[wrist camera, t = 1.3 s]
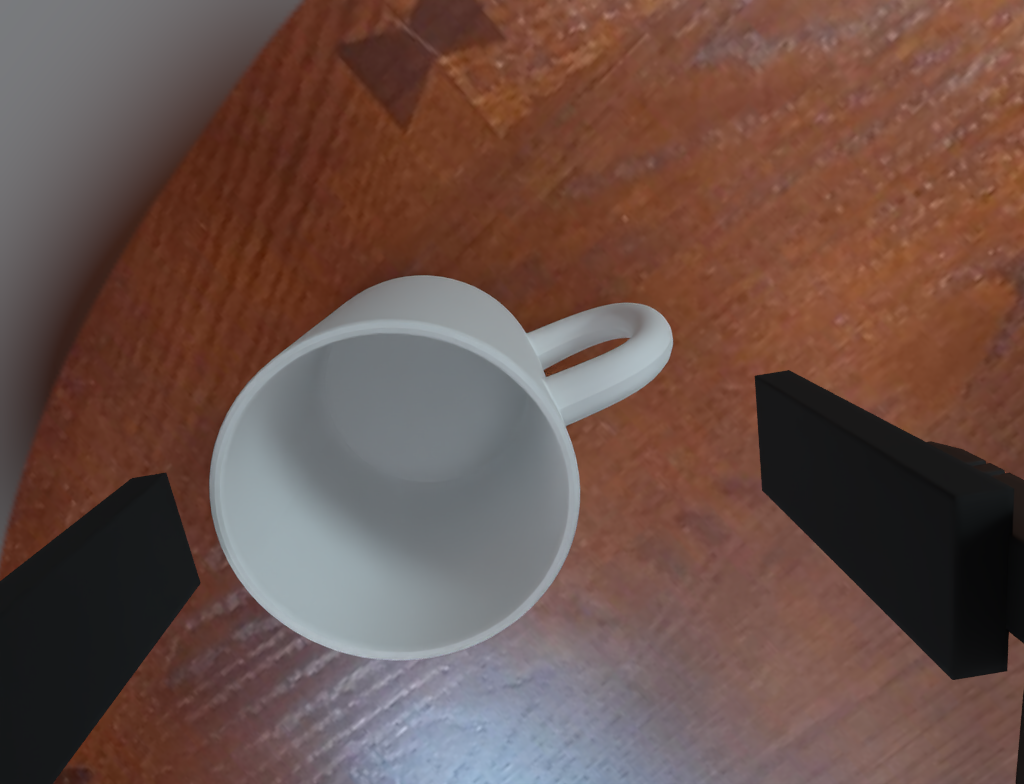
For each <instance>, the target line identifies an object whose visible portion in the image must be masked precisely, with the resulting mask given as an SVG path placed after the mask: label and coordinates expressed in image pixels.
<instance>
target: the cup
mask: <svg viewBox="0 0 1024 784" xmlns="http://www.w3.org/2000/svg"><path fill="white" fill-rule="evenodd" d="M618 338H630V339H629V340H628V341H626V342H625V343H624V344H622V345H620V346H619V347H617V348H615V349H613V350H611V351H609V352H607V353H605V354H602V355H600V356H598V357H595V358H593V359H591V360H588V361H586V362H583V363H581V364H578V365H576V366H573V367H571V368H568V369H566V370H563V371H561V372H558V373H556V374H553V375H550V376H548V377H546V376H545V373H544V369H546V368H548V367H550V366H552V365H554V364H555V363H557V362H559V361H561V360H563V359H565V358H567V357H569V356H571V355H573V354H575V353H577V352H580V351H582V350H584V349H586V348H589V347H591V346H594V345H596V344H599V343H602V342H605V341H609V340H613V339H618ZM672 346H673V337H672V331H671V328H670V325H669V324H668V322H667V321H666V319H665V318H664V317H663V315H662V314H660V313H659V312H658V311H656V310H654V309H653V308H651V307H649V306H646V305H642V304H636V303H616V304H610V305H605V306H600V307H597V308H593V309H590V310H587V311H583V312H580V313H578V314H575V315H572V316H569V317H567V318H564V319H561V320H559V321H556V322H554V323H551V324H549V325H546V326H544V327H541V328H539V329H537V330H534V331H532V332H529V333H526V332H525V331H524V329H523V328H522V326H521V325H520V323H519V322H518V321H517V320H516V318H515V317H514V316H513V315H512V314H511V313H510V312H509V311H508V310H507V309H506V308H505V307H504V306H503V305H502V304H501V303H499V302H498V301H497V300H496V299H494V298H493V297H491V296H490V295H488V294H487V293H485V292H483V291H482V290H480V289H478V288H476V287H474V286H471V285H469V284H467V283H464V282H461V281H458V280H454V279H450V278H445V277H439V276H429V275H417V276H407V277H401V278H396V279H392V280H388V281H385V282H382V283H379V284H377V285H375V286H372V287H370V288H368V289H366V290H364V291H362V292H361V293H359V294H357V295H356V296H354V297H353V298H351V299H350V300H348V301H347V302H346V303H344V304H343V305H342V306H340V307H339V308H338V309H337V310H335V311H334V312H333V313H331V314H330V315H329V316H328V317H326V318H325V319H324V320H322V321H321V322H320V323H319V324H317V325H316V326H315V327H313V328H312V329H311V330H310V331H308V332H307V333H306V334H304V335H303V336H302V337H301V338H299V339H298V340H297V341H295V342H294V343H293V344H292V345H290V346H289V347H288V348H286V349H285V350H284V351H283V352H281V353H280V354H279V355H277V356H276V357H275V358H274V359H272V360H271V361H270V362H269V363H268V364H267V365H265V366H264V367H263V368H262V369H261V370H260V371H259V372H258V373H257V374H256V375H255V376H254V377H253V378H252V379H251V380H250V381H249V382H248V383H247V384H246V386H245V387H244V388H243V390H242V391H241V392H240V394H239V395H238V396H237V398H236V399H235V401H234V403H233V404H232V406H231V408H230V409H229V411H228V413H227V415H226V417H225V419H224V421H223V423H222V426H221V428H220V430H219V433H218V436H217V439H216V442H215V445H214V450H213V455H212V460H211V467H210V477H209V496H210V505H211V513H212V517H213V522H214V526H215V530H216V533H217V536H218V539H219V542H220V545H221V547H222V549H223V552H224V554H225V556H226V558H227V560H228V562H229V564H230V566H231V567H232V569H233V571H234V572H235V574H236V576H237V577H238V579H239V580H240V581H241V583H242V584H243V585H244V587H245V588H246V590H247V591H248V592H249V593H250V594H251V595H252V596H253V597H254V599H255V600H256V601H257V602H258V603H259V604H260V605H261V606H262V607H263V608H264V609H265V610H267V611H268V612H269V613H270V614H271V615H272V616H274V617H275V618H276V619H277V620H279V621H280V622H281V623H283V624H284V625H285V626H287V627H289V628H290V629H292V630H293V631H295V632H296V633H298V634H300V635H302V636H304V637H306V638H307V639H309V640H311V641H313V642H316V643H318V644H320V645H323V646H325V647H328V648H330V649H333V650H337V651H340V652H343V653H346V654H351V655H355V656H359V657H365V658H372V659H380V660H416V659H425V658H432V657H437V656H442V655H447V654H450V653H453V652H457V651H460V650H463V649H466V648H468V647H471V646H474V645H476V644H478V643H480V642H483V641H485V640H487V639H489V638H491V637H492V636H494V635H496V634H497V633H499V632H501V631H502V630H504V629H506V628H507V627H508V626H510V625H511V624H512V623H514V622H515V621H516V620H518V619H519V618H520V617H521V616H522V615H524V614H525V613H526V612H527V611H528V610H529V609H530V608H531V607H532V606H533V605H534V604H535V603H536V602H537V601H538V600H539V599H540V598H541V597H542V595H543V594H544V593H545V592H546V590H547V589H548V588H549V586H550V585H551V584H552V582H553V581H554V579H555V577H556V576H557V574H558V573H559V571H560V569H561V567H562V565H563V563H564V561H565V559H566V557H567V555H568V553H569V550H570V547H571V544H572V541H573V539H574V535H575V531H576V527H577V522H578V515H579V508H580V482H579V472H578V466H577V460H576V456H575V452H574V449H573V446H572V442H571V439H570V437H569V434H568V432H567V429H566V426H567V425H569V424H572V423H574V422H576V421H579V420H581V419H583V418H585V417H588V416H590V415H592V414H594V413H596V412H599V411H601V410H603V409H605V408H607V407H609V406H611V405H613V404H615V403H617V402H619V401H621V400H623V399H625V398H627V397H628V396H630V395H632V394H633V393H635V392H637V391H638V390H640V389H641V388H643V387H644V386H646V385H647V384H648V383H649V382H651V381H652V380H653V379H654V378H655V377H656V376H657V375H658V374H659V372H660V371H661V370H662V369H663V367H664V366H665V365H666V364H667V362H668V360H669V358H670V354H671V351H672Z"/></svg>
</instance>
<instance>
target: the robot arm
mask: <svg viewBox="0 0 1024 784" xmlns="http://www.w3.org/2000/svg"><path fill="white" fill-rule="evenodd" d="M755 387H756V402H757V418H758V433H759V448H760V463H761V479H762V491H763V492H764V493H765V494H766V495H768V496H769V497H770V498H771V499H772V500H773V501H774V502H775V503H776V504H777V505H778V506H779V507H780V508H781V509H782V510H783V511H784V512H785V513H786V514H787V515H788V516H789V517H790V518H791V519H792V520H793V521H794V522H795V523H796V524H797V525H798V526H799V527H800V528H801V529H802V530H803V531H804V532H805V533H806V534H807V535H808V536H809V537H810V538H811V539H812V540H813V541H814V542H815V543H816V544H817V545H818V546H819V547H820V548H821V549H822V550H823V551H824V552H825V553H826V554H827V555H828V556H829V557H830V558H831V559H832V560H833V561H834V562H835V563H836V564H837V565H838V566H839V567H840V568H841V569H842V570H843V571H844V572H845V573H846V574H847V575H848V576H849V577H850V578H851V579H852V580H853V581H854V582H855V583H856V584H857V585H858V586H859V587H860V588H861V589H862V590H863V591H864V592H865V593H866V594H867V595H868V596H869V597H870V598H871V599H872V600H873V601H874V602H875V603H876V604H877V605H878V606H879V607H880V608H881V609H882V610H883V611H884V612H885V613H886V614H887V615H888V616H889V617H890V618H891V619H892V620H893V621H894V622H895V623H896V624H897V625H898V626H899V627H900V628H901V629H902V630H903V631H904V632H905V633H906V634H907V635H908V636H909V637H910V638H911V639H912V640H913V641H914V642H915V643H916V644H917V645H918V646H919V647H920V648H921V649H922V650H923V651H924V652H925V653H926V654H927V655H928V656H929V657H930V658H931V659H932V660H933V661H934V662H935V663H936V664H937V665H938V666H939V667H940V668H941V669H942V670H943V671H944V672H945V673H946V674H947V675H948V676H949V677H950V678H951V679H952V680H956V679H962V678H968V677H974V676H980V675H986V674H992V673H998V672H1004V671H1007V663H1008V637H1009V632H1010V633H1011V634H1013V635H1014V636H1015V637H1016V638H1018V639H1019V640H1020V641H1021V642H1023V643H1024V480H1023V479H1021V478H1019V477H1017V476H1015V475H1013V474H1011V473H1006V474H1005V471H1004V470H1003V469H1001V468H999V467H997V466H995V465H993V464H991V463H988V464H986V461H985V460H983V459H981V458H979V457H977V456H975V455H973V454H971V453H969V452H967V451H965V450H963V449H959V448H955V447H951V446H947V445H943V444H939V443H935V442H925V441H923V440H921V439H919V438H917V437H915V436H913V435H911V434H909V433H907V432H906V431H904V430H902V429H900V428H898V427H896V426H894V425H892V424H890V423H888V422H886V421H885V420H883V419H881V418H879V417H877V416H875V415H873V414H871V413H869V412H867V411H866V410H864V409H862V408H860V407H858V406H856V405H854V404H852V403H850V402H848V401H846V400H845V399H843V398H841V397H839V396H837V395H835V394H833V393H831V392H829V391H827V390H826V389H824V388H822V387H820V386H818V385H816V384H814V383H812V382H810V381H808V380H806V379H805V378H803V377H801V376H799V375H797V374H795V373H793V372H791V371H789V370H788V371H782V372H776V373H770V374H763V375H757V376H755ZM199 585H200V580H199V577H198V573H197V570H196V567H195V564H194V561H193V557H192V554H191V551H190V548H189V544H188V541H187V538H186V535H185V532H184V528H183V525H182V522H181V519H180V515H179V512H178V509H177V506H176V503H175V499H174V496H173V493H172V490H171V487H170V483H169V480H168V477H167V474H166V473H161V474H155V475H149V476H143V477H137V478H132V479H130V480H129V481H128V482H126V483H125V484H124V485H123V486H121V487H120V488H119V489H118V490H116V491H115V492H114V493H112V494H111V495H110V496H109V497H107V498H106V499H105V500H103V501H102V502H101V503H100V504H98V505H97V506H96V507H95V508H93V509H92V510H91V511H89V512H88V513H87V514H86V515H84V516H83V517H82V518H80V519H79V520H78V521H77V522H75V523H74V524H73V525H72V526H70V527H69V528H68V529H66V530H65V531H64V532H63V533H61V534H60V535H59V536H57V537H56V538H55V539H54V540H52V541H51V542H50V543H49V544H47V545H46V546H45V547H43V548H42V549H41V550H40V551H38V552H37V553H36V554H34V555H33V556H32V557H31V558H29V559H28V560H27V561H26V562H24V563H23V564H22V565H20V566H19V567H18V568H17V569H15V570H14V571H13V572H12V573H10V574H9V575H8V576H6V577H5V578H4V579H3V580H1V581H0V784H53V782H54V781H55V780H56V778H57V777H58V776H59V774H60V773H61V771H62V770H63V769H64V767H65V766H66V765H67V763H68V762H69V761H70V759H71V758H72V757H73V755H74V754H75V752H76V751H77V750H78V748H79V747H80V746H81V744H82V743H83V742H84V740H85V739H86V738H87V736H88V735H89V734H90V732H91V731H92V729H93V728H94V727H95V725H96V724H97V723H98V721H99V720H100V719H101V717H102V716H103V715H104V713H105V712H106V711H107V709H108V708H109V706H110V705H111V704H112V702H113V701H114V700H115V698H116V697H117V696H118V694H119V693H120V692H121V690H122V689H123V687H124V686H125V685H126V683H127V682H128V681H129V679H130V678H131V677H132V675H133V674H134V673H135V671H136V670H137V669H138V667H139V666H140V664H141V663H142V662H143V660H144V659H145V658H146V656H147V655H148V654H149V652H150V651H151V650H152V648H153V647H154V645H155V644H156V643H157V641H158V640H159V639H160V637H161V636H162V635H163V633H164V632H165V631H166V629H167V628H168V627H169V625H170V624H171V622H172V621H173V620H174V618H175V617H176V616H177V614H178V613H179V612H180V610H181V609H182V608H183V606H184V605H185V603H186V602H187V601H188V599H189V598H190V597H191V595H192V594H193V593H194V591H195V590H196V589H197V587H198V586H199ZM1016 784H1024V692H1023V704H1022V716H1021V727H1020V739H1019V750H1018V762H1017V773H1016Z"/></svg>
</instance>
